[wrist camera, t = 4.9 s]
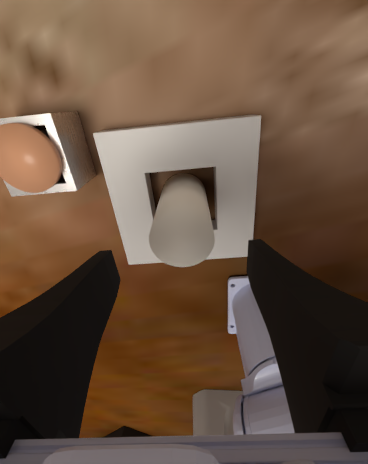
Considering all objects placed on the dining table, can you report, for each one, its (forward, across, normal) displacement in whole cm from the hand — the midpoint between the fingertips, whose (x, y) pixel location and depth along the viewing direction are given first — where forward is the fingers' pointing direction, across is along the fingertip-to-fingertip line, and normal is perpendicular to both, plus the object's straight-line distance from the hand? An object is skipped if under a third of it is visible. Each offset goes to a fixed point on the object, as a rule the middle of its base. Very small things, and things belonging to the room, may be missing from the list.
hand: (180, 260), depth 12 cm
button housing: (+10, +10, -5) cm, 15 cm away
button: (+9, +10, -5) cm, 14 cm away
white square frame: (+10, 0, 0) cm, 10 cm away
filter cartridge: (+10, 0, 0) cm, 10 cm away
